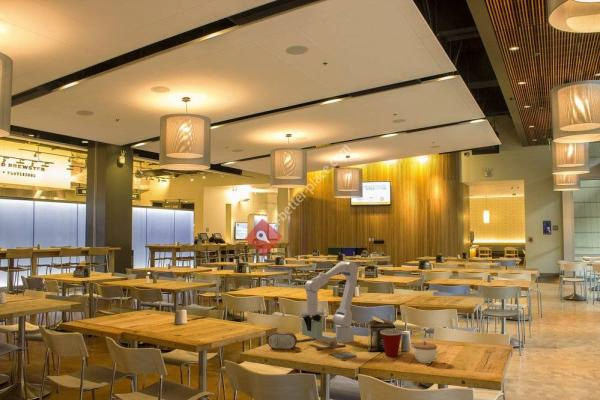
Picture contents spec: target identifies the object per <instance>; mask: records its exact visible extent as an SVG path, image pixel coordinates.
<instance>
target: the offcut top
mask: <svg viewBox="0 0 600 400" xmlns="http://www.w3.org/2000/svg"><path fill="white" fill-rule="evenodd" d="M321 339H322V340H326V341H330V342H333V341H337V337H336V335H335V336H334V335H331V334H330V335H329V334H326V333H322V338H321Z"/></svg>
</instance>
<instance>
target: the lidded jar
mask: <svg viewBox="0 0 600 400" xmlns="http://www.w3.org/2000/svg"><path fill="white" fill-rule="evenodd" d="M412 347H413V348H412V350H413V356H414V358H415V360H416V361H417V362H418V363H419V362H420V364H424V363H429V364H432V363H433V361H434V360H436V356H437V351H438V350H437V349H438V346H437V344H434V343H432V342H426V340H424V341H423V342H415V343H413V344H412ZM431 362H432V363H431Z"/></svg>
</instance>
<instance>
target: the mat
mask: <svg viewBox="0 0 600 400" xmlns="http://www.w3.org/2000/svg"><path fill="white" fill-rule="evenodd" d="M328 356H330V357H331V356H332V357H334V358H337V359H340V360H344V359H351V358H357V354H354V353H351V352H348V351H344V352H343V351H342V352H338V353H329V354H328Z"/></svg>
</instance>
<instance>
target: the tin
mask: <svg viewBox="0 0 600 400" xmlns="http://www.w3.org/2000/svg"><path fill="white" fill-rule="evenodd" d="M297 340H298V337H297V336H296V335H295V334H294V333H293V332H290V331H285V332H284V331H273V332H271V333H270V334H269V336H268V337H267V345H268V346H269V347H270V348H272V349H274V350H293V349H294V348H295V347H296V345H297V343H298V342H297Z"/></svg>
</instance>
